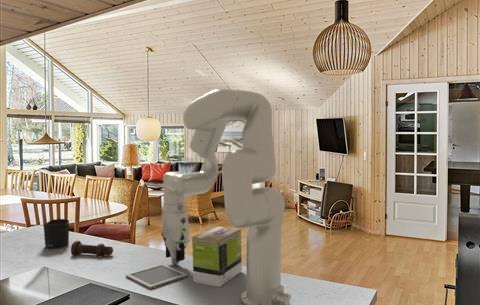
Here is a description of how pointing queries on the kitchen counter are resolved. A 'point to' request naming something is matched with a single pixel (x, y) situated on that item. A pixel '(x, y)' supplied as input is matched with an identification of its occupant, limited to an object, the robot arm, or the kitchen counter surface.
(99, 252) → the bolt
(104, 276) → the kitchen counter surface
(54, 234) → the pen holder
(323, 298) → the kitchen counter surface
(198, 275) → the tea box
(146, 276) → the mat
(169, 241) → the lightbulb
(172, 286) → the kitchen counter surface
